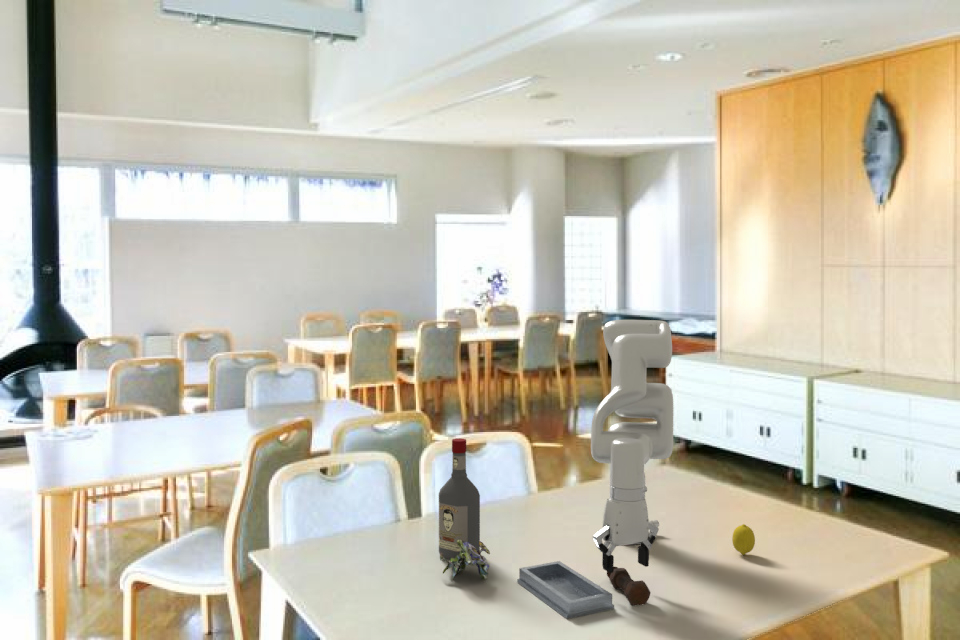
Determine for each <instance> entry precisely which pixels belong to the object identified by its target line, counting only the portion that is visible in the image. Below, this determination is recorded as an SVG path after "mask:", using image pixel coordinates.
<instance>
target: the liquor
mask: <svg viewBox="0 0 960 640" xmlns="http://www.w3.org/2000/svg"><path fill="white" fill-rule="evenodd" d="M451 452H452V461H451V462H452V465H451V466H452V468H451V469H452V471H451V475H450V477H449V479H448V480H447V481H446V483H444V485H443V486H442V487H441V488H440V490H439V491H438V553H439V554H440V553H442V554H443V556H442V557H443V558H445V559H446V560H447V561H450V559H451V558H454V559H455V558H456V556H457V555H458V554H459V555H460V552H461V548H460V547H459V545H458V544H457V541H458V540H461V541H462V543H463V544H464V543H465V541H466V542H467V543H468V542H469V544H471V545H472V546H473V545H474V547H475V548H476V550H477V551H480V550H481V547H480V544H479V542H480V541H481V539H480V537H481V534H480V533H481V525H480V523H481V520H480V519H481V513H480V512H481V505H480V504H481V502H480V501H481V495H480V492H479V489H478V488H477V487H476V485H475V484H474V483H473V482H472V481H471V480H470V479H469V477H468V474H467V457H466V456H467V439H466V438H459V437H458V438H456V437H455V438H452V439H451ZM443 558H442V560H444V559H443ZM446 560H445V561H446Z"/></svg>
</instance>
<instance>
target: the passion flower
mask: <svg viewBox="0 0 960 640" xmlns="http://www.w3.org/2000/svg"><path fill="white" fill-rule="evenodd" d="M457 544H458V545H459V547H460V548H461V552H460V555H459V554H458V555H457V556H456V558H455V559H454V558H451V559H450V560H446V559H445V558H443V557H442V556H443V554H442V553H439V559H440V561H442V560H444V561H446V562H447V565H446V566H445V568H443V571H442V575H444V574H445V573H446V571H448V570H449V569H450V568H451V567H452V576H451V579H450V582H452V581H453V579H454V578H455V577H456V576H458V574H459V573H460V571H463V570H465V568H466V566H468V565H470V566H475V565H476V567H477V571H478V575H479V576H480V578H481V580H484V581H486V579H487V575H489V572H487V571H488V569H489V567H490V566H489V563H487V561H486V557H485V556H484V555H482V552H485V553H487V554H488V555H490V554H491V553H490V549H489V548H487V545H485V544H484V543H483V542H482V541H481V540H480V542H479V544H480V551H477V550H476V548H475V547H474V545H473V546H472V545H471V544H469V542H468V543H467V542H466V541H465V543H464V544H463V543H462V541H461V540H458V541H457ZM442 558H443V559H442Z"/></svg>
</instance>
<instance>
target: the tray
mask: <svg viewBox="0 0 960 640" xmlns="http://www.w3.org/2000/svg"><path fill="white" fill-rule="evenodd" d="M518 574H519V578H517V580H516V581H517V582H518V583H517V584H519V585H520V586H522V587H523V588H524V589H525V590H527V591H528V592H530V593H531V594H533V596H535V597H537V598H538V599H539V600H540V601H541V602H543V603H544V604H546V605H547V606H549V607H550V608H551V609H553V610H554V611H555V612H557V613H558V614H559V615H561V616H562V617H563V618H565V619H566V620H568V619H573V618H574V619H575V618H578V617H583V616H588V615H592V614H597V613H601V611H602V612H606V611H610V609H611V610H615V604H614V603H613V593H611V592H610V591H608V590H607V589H605V588H603V587H601V586H600V585H598V584H597V583H595V582H594V581H592V580H590V579H589V578H587V577H586V576H584V575H582V574H580V572H578V571H576V570H574V569H573V568H571V567H570V566H568V565H566V564H565V563H563V562H561V561H560V560H559V561H558V560H557V561H552V562H547V563H541V564H536V565H530V566H525V567H519V573H518Z"/></svg>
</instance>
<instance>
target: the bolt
mask: <svg viewBox="0 0 960 640" xmlns="http://www.w3.org/2000/svg"><path fill="white" fill-rule="evenodd" d="M606 576H607V578H608V579H609V581H610V583H611V584H612V586H613V588H615V589H617V588H621V590H622V591H623V592H624V593H623V594H624V596H625V598H626V600H627V601H628V602H629V604H630V605H631V606H635V605H636V606H643V605H642V604H644V605H645V604H646V603H648V601H649V599H650V596H651V591H650V588H649V587H648V585H647V584H646V583H645V581H644V580H634V579H632V577H631V575H630V573H629V572H628V570H627V569H626V568H625V567H617V566H613V573H609V572H607V571H606Z"/></svg>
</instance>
